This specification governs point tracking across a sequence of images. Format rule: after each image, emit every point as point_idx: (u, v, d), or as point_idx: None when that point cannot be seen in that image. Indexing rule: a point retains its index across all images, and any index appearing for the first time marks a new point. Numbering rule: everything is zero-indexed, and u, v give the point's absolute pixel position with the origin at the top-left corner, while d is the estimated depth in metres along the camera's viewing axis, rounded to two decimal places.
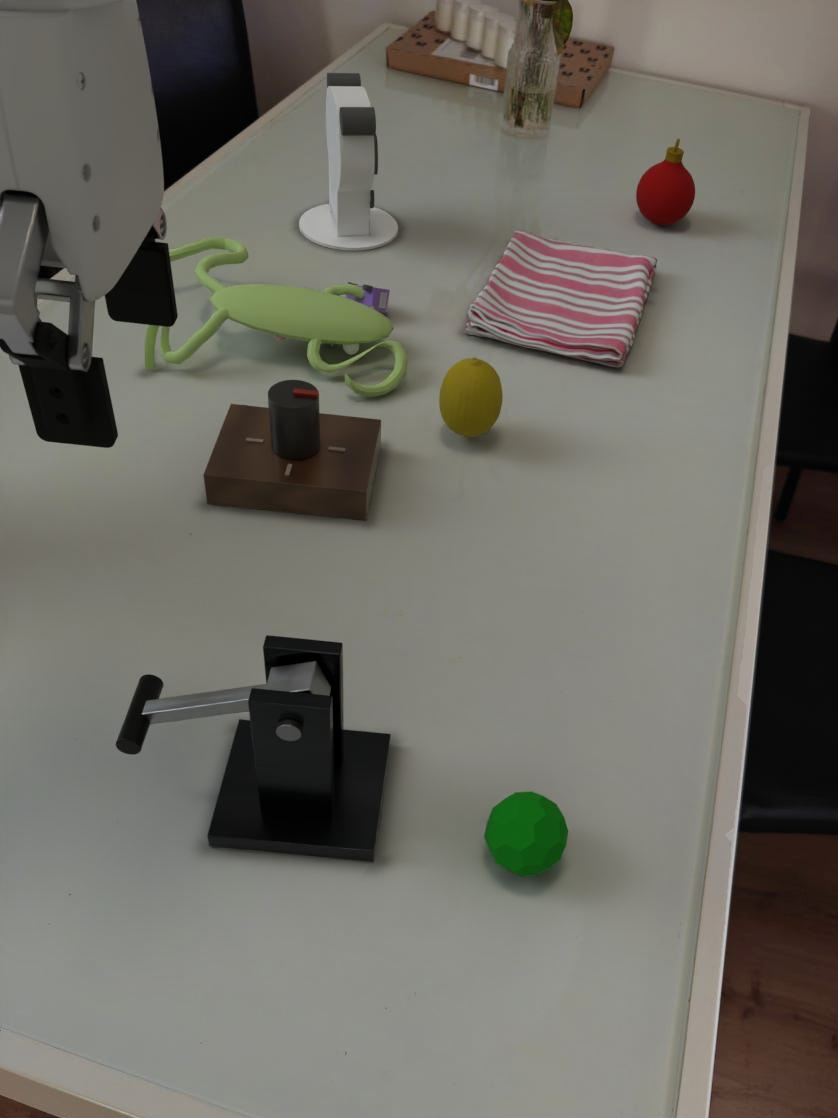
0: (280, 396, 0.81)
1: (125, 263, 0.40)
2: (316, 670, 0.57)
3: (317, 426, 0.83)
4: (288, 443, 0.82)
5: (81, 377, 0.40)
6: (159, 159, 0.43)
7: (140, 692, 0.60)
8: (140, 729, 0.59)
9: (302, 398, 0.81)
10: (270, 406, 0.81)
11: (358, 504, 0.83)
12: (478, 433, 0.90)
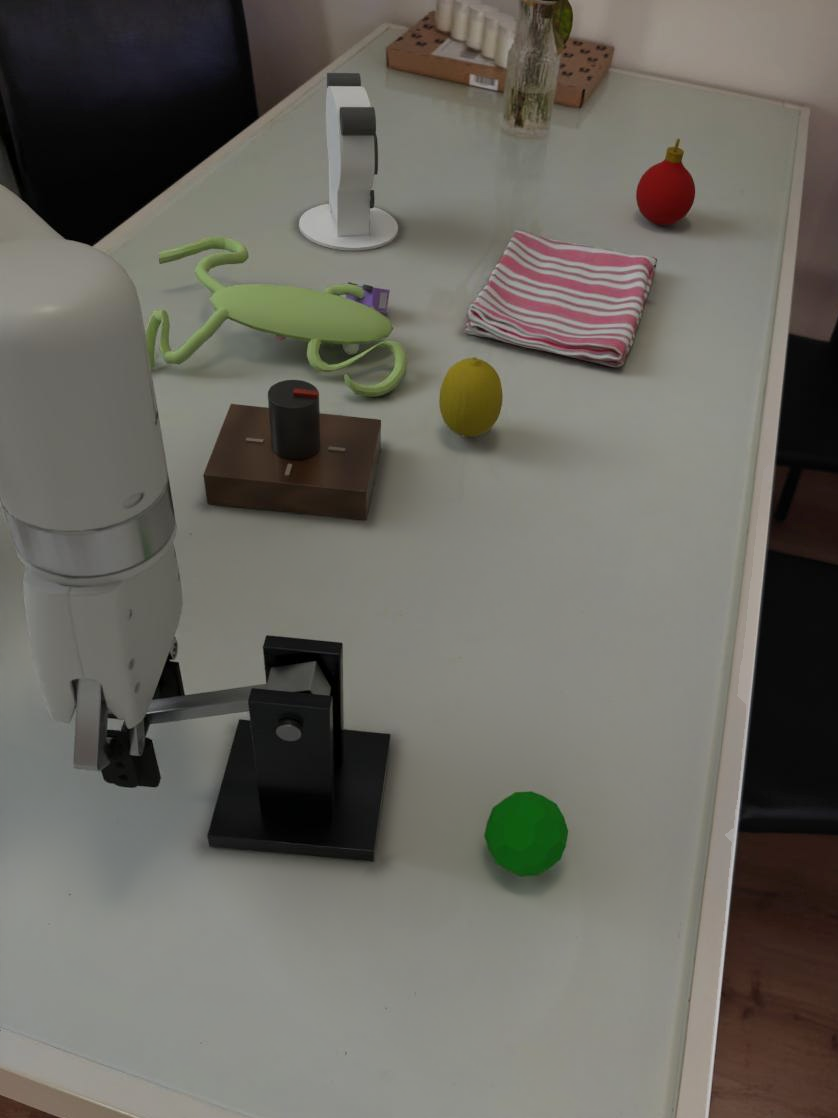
0: (280, 396, 0.81)
1: (155, 686, 0.56)
2: (316, 670, 0.57)
3: (317, 426, 0.83)
4: (288, 443, 0.82)
5: None
6: (179, 590, 0.58)
7: None
8: None
9: (302, 398, 0.81)
10: (270, 406, 0.81)
11: (358, 504, 0.83)
12: (478, 433, 0.90)
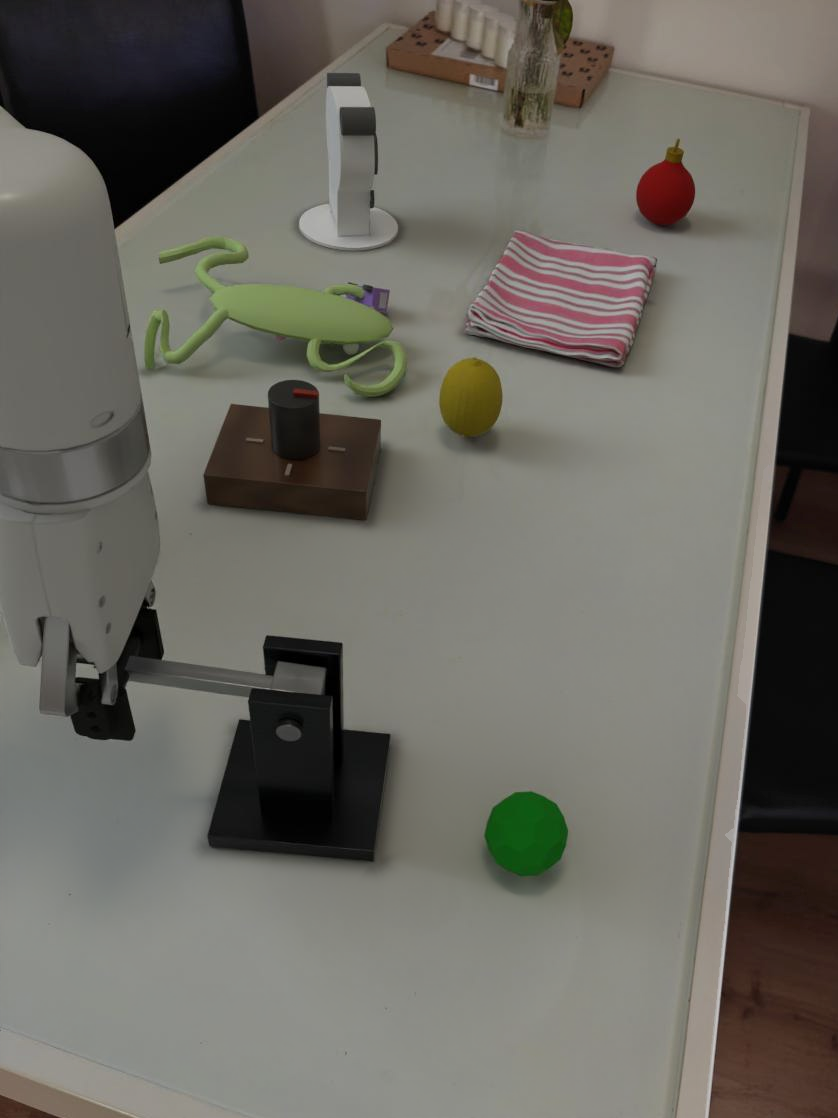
0: (280, 396, 0.81)
1: (129, 630, 0.52)
2: (325, 677, 0.58)
3: (317, 426, 0.83)
4: (288, 443, 0.82)
5: None
6: (156, 531, 0.55)
7: None
8: (122, 685, 0.56)
9: (302, 398, 0.81)
10: (270, 406, 0.81)
11: (358, 504, 0.83)
12: (478, 433, 0.90)
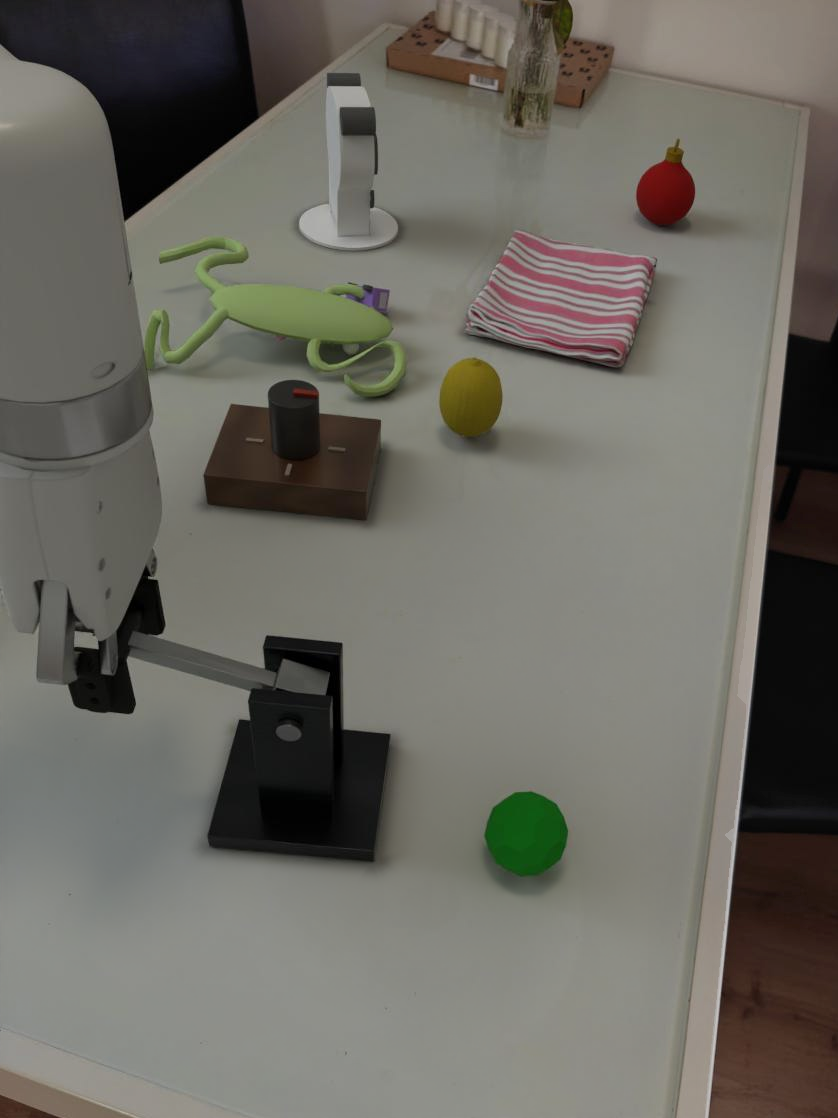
0: (280, 396, 0.81)
1: (130, 597, 0.51)
2: (327, 681, 0.58)
3: (317, 426, 0.83)
4: (288, 443, 0.82)
5: None
6: (158, 497, 0.53)
7: (128, 619, 0.56)
8: None
9: (302, 398, 0.81)
10: (270, 406, 0.81)
11: (358, 504, 0.83)
12: (478, 433, 0.90)
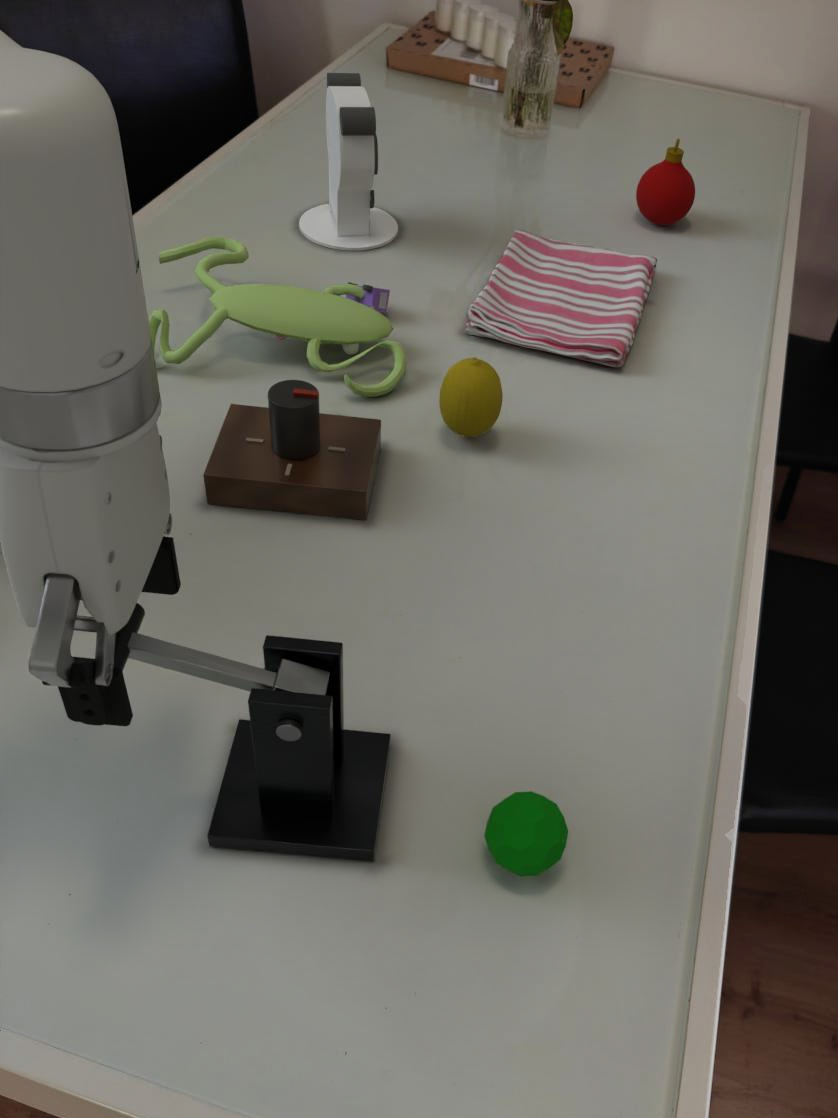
0: (280, 396, 0.81)
1: (139, 591, 0.50)
2: (327, 681, 0.58)
3: (317, 426, 0.83)
4: (288, 443, 0.82)
5: None
6: (166, 491, 0.53)
7: None
8: (123, 662, 0.55)
9: (302, 398, 0.81)
10: (270, 406, 0.81)
11: (358, 504, 0.83)
12: (478, 433, 0.90)
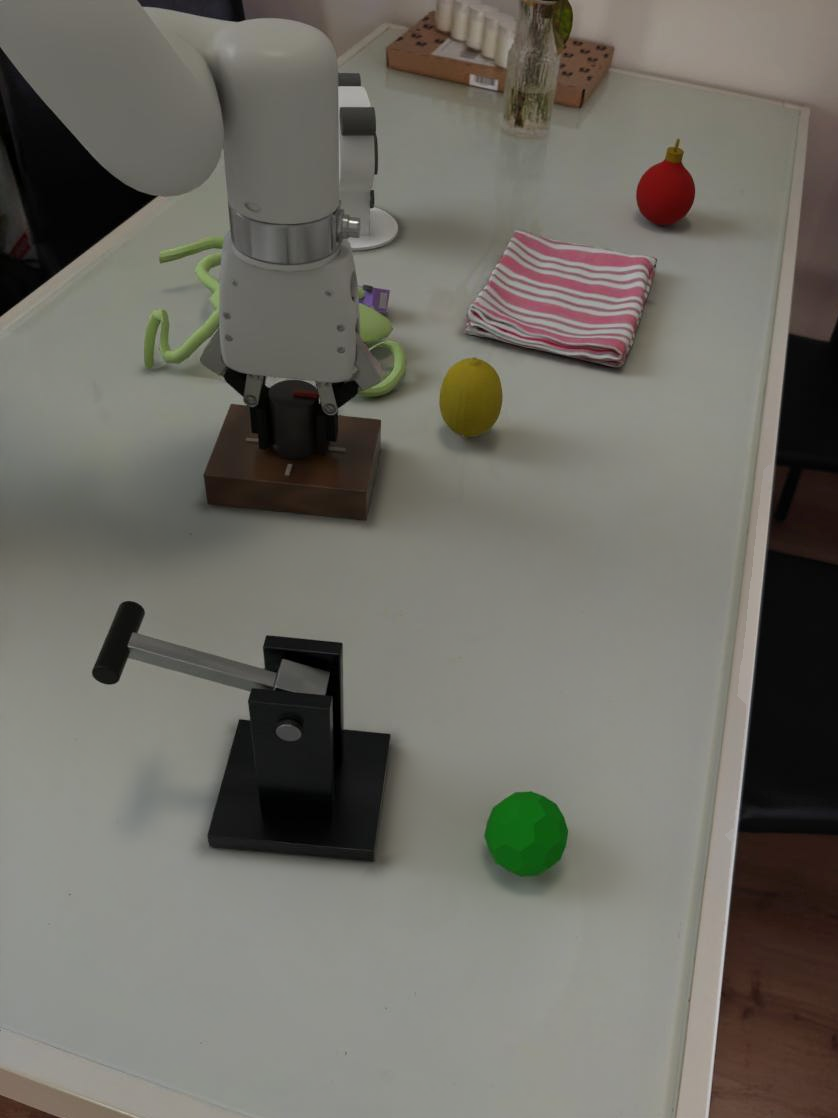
0: (280, 396, 0.81)
1: (264, 373, 0.78)
2: (327, 681, 0.58)
3: None
4: (288, 443, 0.82)
5: None
6: (338, 360, 0.76)
7: (127, 620, 0.56)
8: (123, 662, 0.55)
9: (302, 398, 0.81)
10: (270, 406, 0.81)
11: (358, 504, 0.83)
12: (478, 433, 0.90)
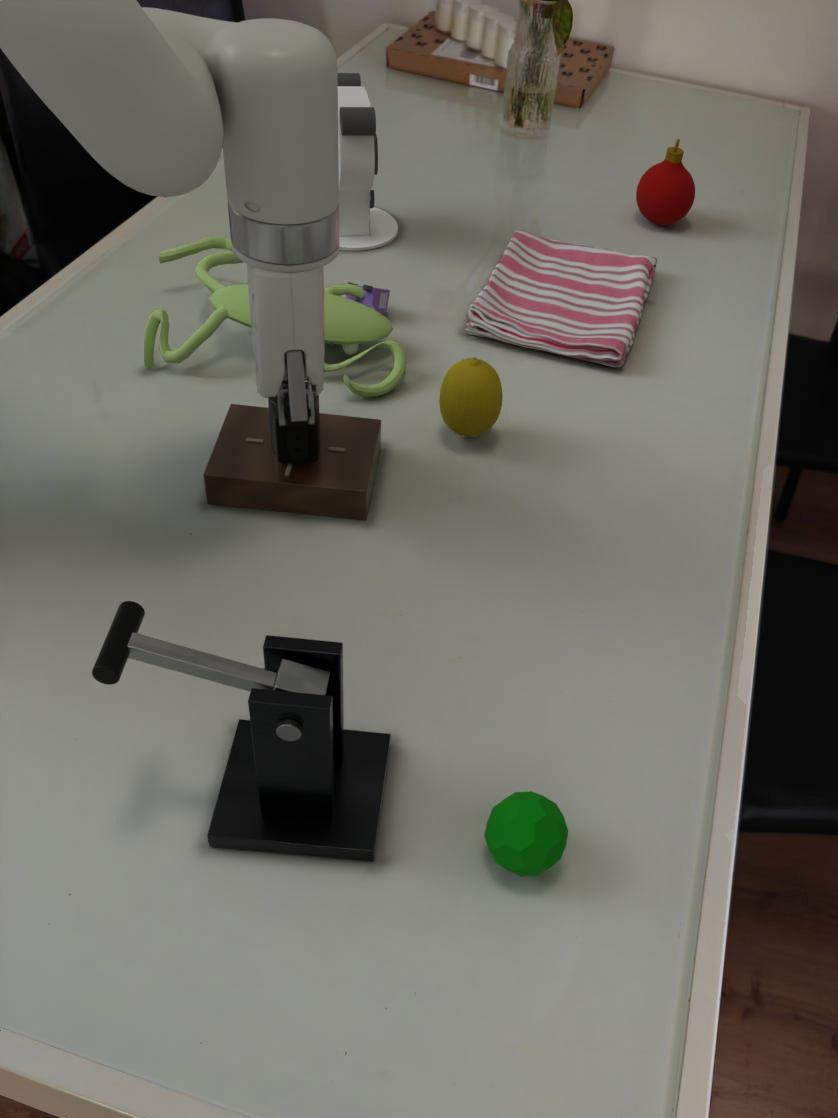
0: None
1: None
2: (327, 681, 0.58)
3: None
4: (319, 429, 0.84)
5: None
6: None
7: (127, 620, 0.56)
8: (123, 662, 0.55)
9: None
10: None
11: (358, 504, 0.83)
12: (478, 433, 0.90)
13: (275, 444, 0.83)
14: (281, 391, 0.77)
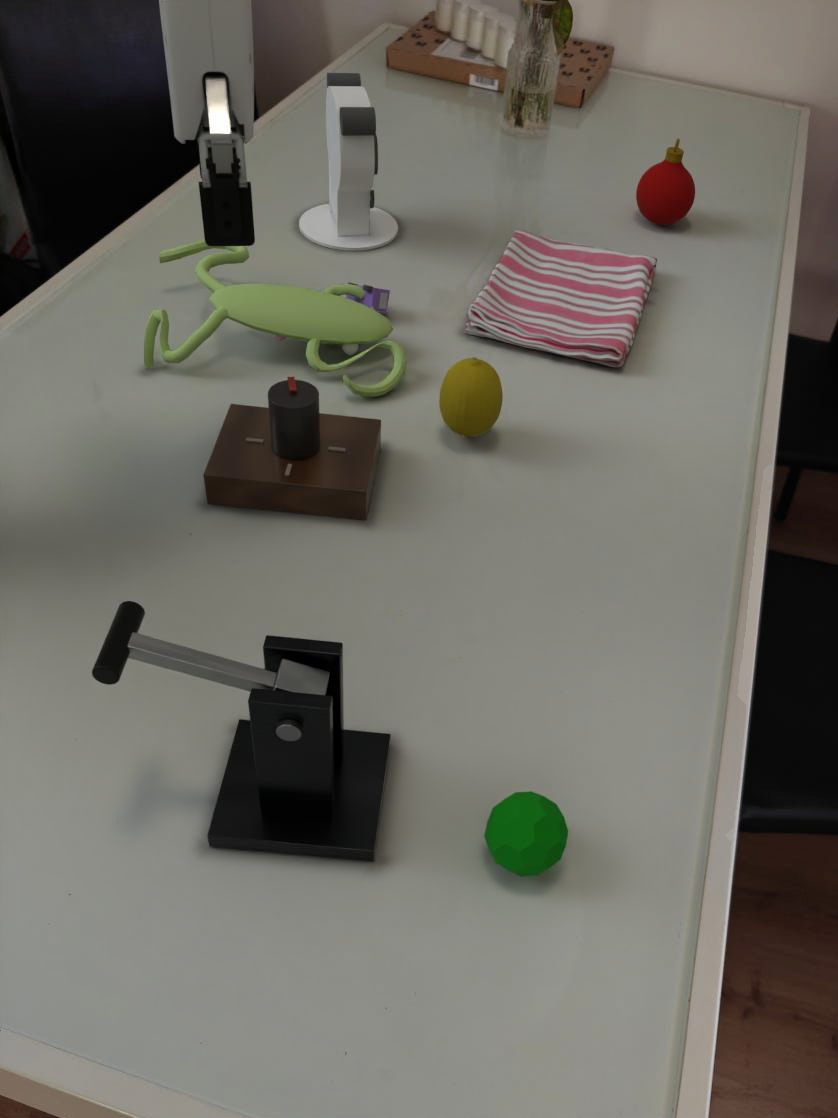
0: (301, 399, 0.81)
1: None
2: (327, 681, 0.58)
3: None
4: (319, 429, 0.84)
5: (239, 195, 0.65)
6: None
7: (127, 620, 0.56)
8: (123, 662, 0.55)
9: (299, 387, 0.82)
10: (310, 411, 0.81)
11: (358, 504, 0.83)
12: (478, 433, 0.90)
13: (275, 444, 0.83)
14: (202, 133, 0.63)
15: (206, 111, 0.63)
